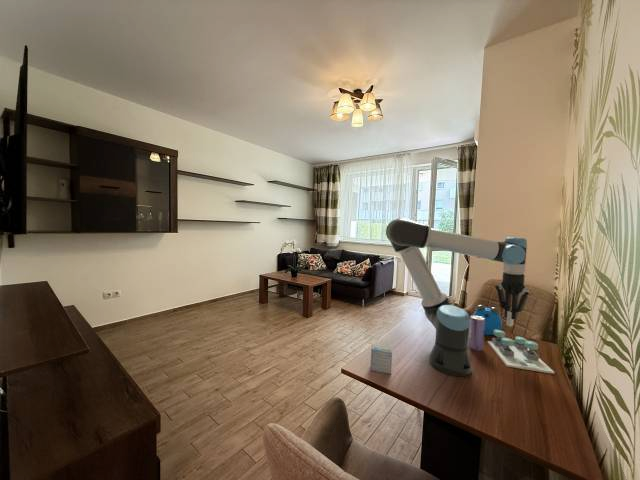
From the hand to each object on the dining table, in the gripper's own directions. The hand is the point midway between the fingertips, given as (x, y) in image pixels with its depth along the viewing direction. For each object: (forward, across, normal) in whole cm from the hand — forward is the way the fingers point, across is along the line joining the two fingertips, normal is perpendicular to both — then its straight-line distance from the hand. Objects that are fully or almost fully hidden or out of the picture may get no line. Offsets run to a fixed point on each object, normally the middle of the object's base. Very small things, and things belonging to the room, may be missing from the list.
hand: (509, 325), depth 112 cm
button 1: (+11, 0, 0) cm, 11 cm away
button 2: (+11, -6, -6) cm, 14 cm away
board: (+14, -2, -4) cm, 15 cm away
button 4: (+13, 0, -12) cm, 18 cm away
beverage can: (+14, +11, +6) cm, 19 cm away
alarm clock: (+14, +18, -16) cm, 28 cm away
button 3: (+11, +7, -6) cm, 14 cm away
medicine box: (+14, +18, +59) cm, 63 cm away
